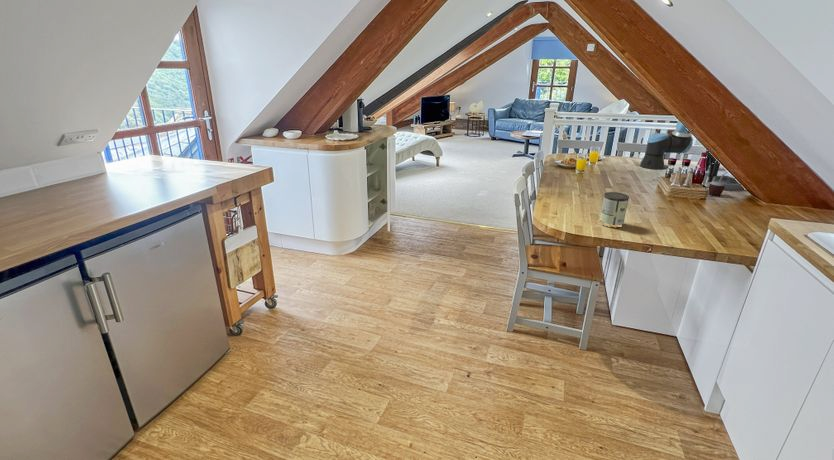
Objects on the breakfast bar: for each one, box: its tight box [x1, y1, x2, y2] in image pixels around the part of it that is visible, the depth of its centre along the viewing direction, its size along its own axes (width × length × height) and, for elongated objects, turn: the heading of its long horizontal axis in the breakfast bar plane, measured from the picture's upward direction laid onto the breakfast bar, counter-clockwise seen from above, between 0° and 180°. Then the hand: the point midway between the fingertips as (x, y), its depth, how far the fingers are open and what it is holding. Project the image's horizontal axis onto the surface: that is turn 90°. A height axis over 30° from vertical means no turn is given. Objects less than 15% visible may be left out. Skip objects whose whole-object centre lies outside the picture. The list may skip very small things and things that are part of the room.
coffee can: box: [599, 191, 630, 225], centre depth 188 cm, size 10×10×14 cm
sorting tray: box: [715, 175, 745, 191], centre depth 250 cm, size 20×15×4 cm
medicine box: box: [703, 170, 716, 186], centre depth 247 cm, size 8×4×9 cm, turn 85°
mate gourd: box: [707, 171, 728, 198], centre depth 229 cm, size 8×8×15 cm
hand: (704, 185), depth 249 cm, fingers closed on medicine box, 5 cm apart
